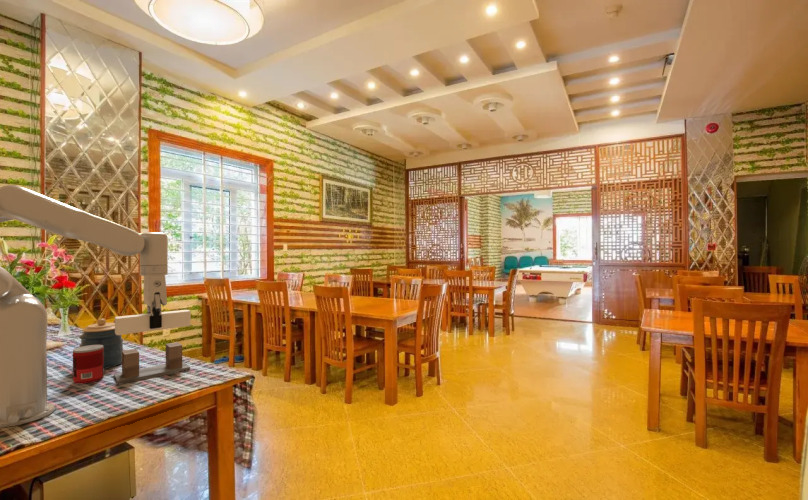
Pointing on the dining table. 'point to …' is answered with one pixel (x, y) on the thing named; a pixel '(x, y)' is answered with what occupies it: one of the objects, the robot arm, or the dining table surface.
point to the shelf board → (143, 322)
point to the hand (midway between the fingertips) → (154, 326)
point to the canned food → (88, 364)
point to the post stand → (134, 373)
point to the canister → (104, 341)
